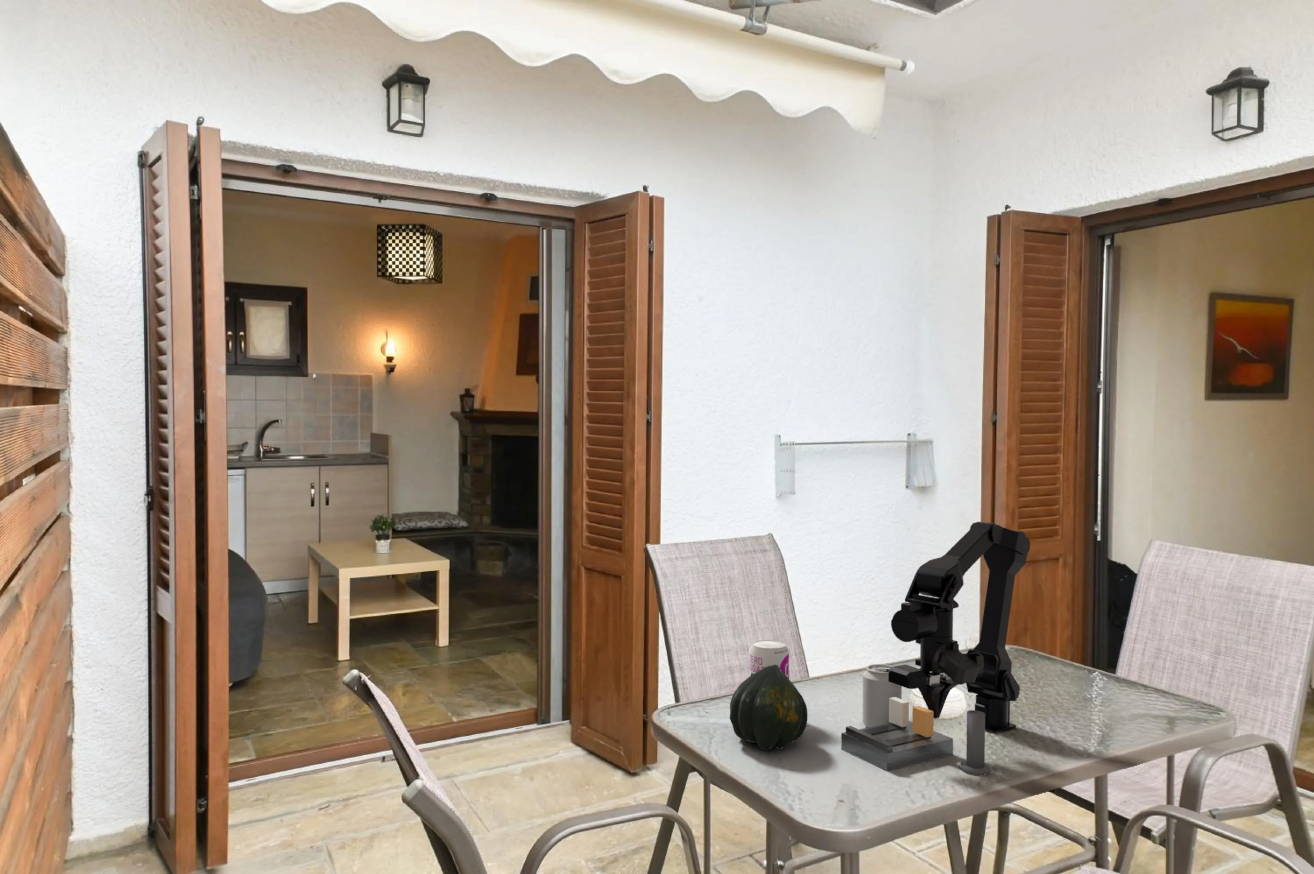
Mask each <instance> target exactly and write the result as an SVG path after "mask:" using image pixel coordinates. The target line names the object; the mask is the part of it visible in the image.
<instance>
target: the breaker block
mask: <svg viewBox="0 0 1314 874" xmlns="http://www.w3.org/2000/svg"><path fill="white" fill-rule="evenodd" d="M912 730H913V721H910V720H909V726H906V727H901V726H898V725H896V724H894V723H887V724H882V725H877V726H872V727H868V728H867V727H864V728H857V727H854V726H852V725H849V726H845V732H841V736H840V737H841V744H840V745H841V750H843V751H845V752H846V753H849V754H851V755H853V756H855V757H857V758H858V759H860V760H862V761H864V762H867V763H869V764H872V765H874V766H875V767H878V768H880V769H882V770H884V771H886V772H889V771H892V770H896V769H900V768H905V767H909V766H912V765H918V764H921V763H926V762H929V761H933V760H937V759H941V758H945V757H950V756H953V755H954V738H952V737H950V736H947V735H945V734H943V733H940V732H938V731H935V730H933V736H931V737H925V736H922V735H920V734H918V733H915V732H913V731H912Z"/></svg>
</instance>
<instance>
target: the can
mask: <svg viewBox="0 0 1314 874" xmlns="http://www.w3.org/2000/svg"><path fill="white" fill-rule="evenodd" d="M893 666H894V665H890V664H883V663H882V664H881V663H880V664H879V663H876V664H870V665H867V666H866V671H865V672H863V674H862V723H863V724H864V726H865V727H866V728H868V727H872V726H877V725H882V724H887V723H891V722H889V698H892V697H897V698H899V699H902V700H903V697H902V696H903V695H902V692H903V691H902V690H903V689H902V688H903V687H902V686H900V685H897V684H894V683H891V682H888V674H889V670H890V668H891V667H893Z"/></svg>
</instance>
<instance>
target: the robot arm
mask: <svg viewBox="0 0 1314 874" xmlns="http://www.w3.org/2000/svg"><path fill="white" fill-rule="evenodd" d="M1030 549H1031V542H1030V538H1029V537H1027V535H1026V533H1025V531H1022V530H1014V529H1010V528H1006V527H1004V526H1001V525H999V524H997V523H994V522H985V521H984V522H983V521H976V522H972V524H971V525H970V527H969V530H968V531H967V532H966V533H965V534H964V535H963V536H962V537H961V538H960V539H959V540H958V541H957V542H956V543H955V544H953V546H952V547H951V548H950V549H949V550H948V551H947V552H946V553H945V554H943V555H942V556H940V557H936V558H933V559H929V560H928V561H926V562H925V563H923V564H922V565H919V567H918V568H917V570H916V573H915V574H914V576H913V579H912V580H911V584H910V586H909V588H908V591H907V594H906V596H905V598H904V602H901V604H900V609H899V610H897V611H896V612H894V614H893V616H892V619H891V620H890V621H891V622H890V627H891V630H892V632H893V634H894V636H895V637H896V639H898V640H899V641H901V642H904V643H910V642H914V641H915V643H916V644H917V645H919V646H920V648H919V650H920V651H919V653H920V654H919V655H920V656H919V658H915V660H914V661H915V662H914V665H916V666H918V667H920V668H917V667H915V666H912V665H909V664H902V665H901V664H900V665H895V666H894V665H892V666H893V667H891V668H890V670H889V674H888V682H891V683H894V684H897V685H900V686H902V688H905V689H908V690H915V689H918V690H919V693H920V694H921V696H922V698H923V701H924V702H925V705H926V707H927V709H929V710H931V711H934V720H936V719H940V717H941V715H942V710H943V708H944V706H945V703H946V700H947V697H948V696H949V693H950V691H951V690H952V689H954V688H955V687H957V686H958V685H961V686H962V685H964V684H965V686H966V690H967V692H968V693H969V694H975V703H974V710H976V711H981V712H984V713H985V731H986V730H987V731H989V732H992V733H999V732H1003V731H1006V730H1011V729H1016V728H1017V724H1014V723H1012V722H1011V721H1010V720H1011V702H1016V701H1017V699H1018V698H1019V696H1020V690H1021V687H1020V684H1019V683H1018V681H1017V680H1016V679H1015V677H1014V675H1013V673H1012V666H1013V664H1012V660H1011V658H1010V656H1009V653H1008V651H1007V649H1006V644H1007V636H1008V630H1009V623H1010V615H1011V610H1012V609H1011V607H1012V600H1013V594H1014V586H1015V578H1016V576H1017V574H1018V573H1019V572H1020V570H1021V569H1022V568H1024V566H1025V565H1026V563H1027V558H1028V554H1029V552H1030ZM981 557H983V559H984V562H985V564H986V566H987V569H988V570H989V571H988V577H987V579H988V580H987V585H986V591H985V599H984V607H983V613H982V620H981V628H980V634H979V640H978V643H977V644H976V645H975V647H974V648H972V649H968V650H967V652H965V653H962V652H961V651H960V644H959V642H958V641H957V640H955V639H953V637H954V636H953V634H954V609H956V608H959V603H958V602H957V601H956V600H955V598H956V596H957V595H958V594H959V592H960V590H961V589H962V587H963V586H964V583H965V582H964V576H965V575H966V573H967V572H968V571H969V570H970V569H971V567H973V565H974V564H976V562H978V561H979V559H980V558H981Z"/></svg>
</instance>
